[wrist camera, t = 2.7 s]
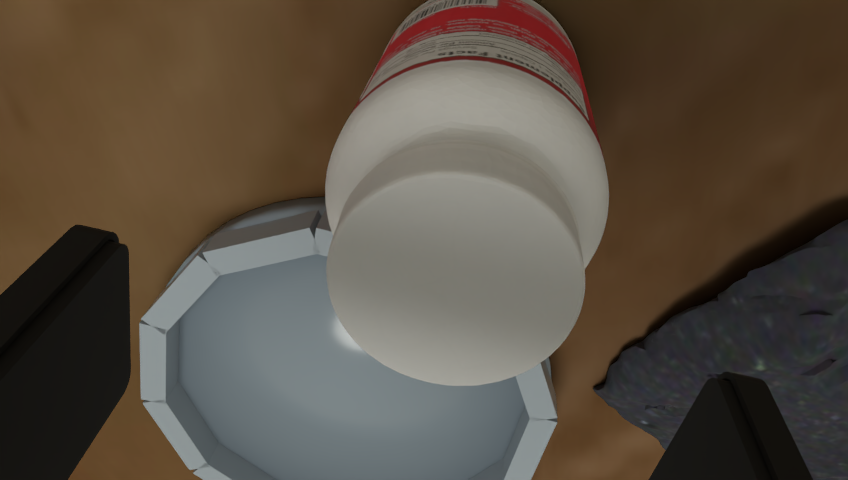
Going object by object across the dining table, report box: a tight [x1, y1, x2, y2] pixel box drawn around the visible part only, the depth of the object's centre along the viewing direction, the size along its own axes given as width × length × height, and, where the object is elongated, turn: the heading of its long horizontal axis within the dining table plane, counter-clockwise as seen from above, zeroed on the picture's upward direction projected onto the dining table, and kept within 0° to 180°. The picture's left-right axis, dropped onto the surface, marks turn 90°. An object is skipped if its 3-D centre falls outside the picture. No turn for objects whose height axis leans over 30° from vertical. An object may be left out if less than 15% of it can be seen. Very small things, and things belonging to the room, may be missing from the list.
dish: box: [139, 197, 557, 480], centre depth 28 cm, size 16×16×2 cm
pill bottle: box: [325, 0, 609, 386], centre depth 17 cm, size 6×6×11 cm
